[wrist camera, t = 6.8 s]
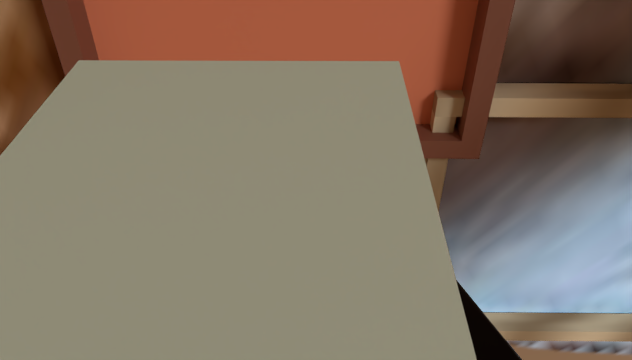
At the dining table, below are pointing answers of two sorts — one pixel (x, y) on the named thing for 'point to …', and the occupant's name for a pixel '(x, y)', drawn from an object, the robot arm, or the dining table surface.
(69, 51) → the tray
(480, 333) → the robot arm
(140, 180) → the sage block
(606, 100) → the tan thin square frame
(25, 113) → the dining table surface
